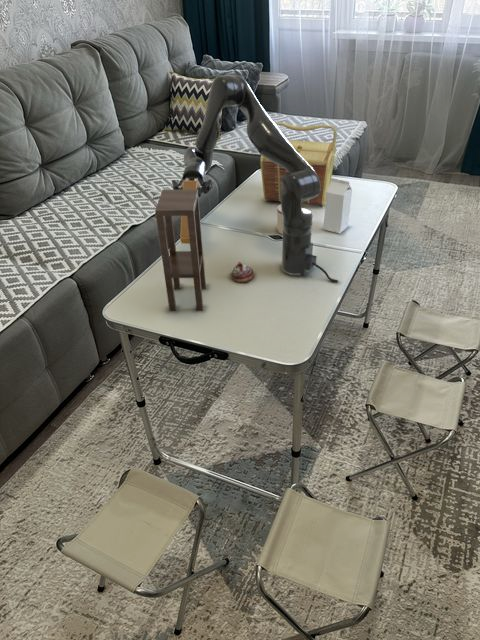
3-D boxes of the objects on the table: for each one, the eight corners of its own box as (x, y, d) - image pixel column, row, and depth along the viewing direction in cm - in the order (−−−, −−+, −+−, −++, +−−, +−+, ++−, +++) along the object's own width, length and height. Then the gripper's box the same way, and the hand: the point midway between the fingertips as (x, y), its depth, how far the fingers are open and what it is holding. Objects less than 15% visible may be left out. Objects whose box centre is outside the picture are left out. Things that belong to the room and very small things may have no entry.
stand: (175, 286, 164) (162, 189, 144) (206, 285, 164) (197, 189, 144) (169, 310, 153) (155, 210, 133) (202, 310, 153) (193, 210, 133)
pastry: (227, 273, 170) (227, 260, 167) (248, 268, 172) (248, 255, 169) (236, 285, 164) (236, 271, 161) (258, 280, 167) (258, 266, 164)
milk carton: (340, 234, 192) (345, 184, 180) (323, 229, 195) (327, 181, 183) (347, 226, 197) (353, 178, 185) (331, 222, 200) (335, 174, 188)
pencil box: (184, 186, 169) (183, 180, 166) (197, 186, 169) (196, 180, 166) (181, 243, 162) (180, 238, 159) (195, 243, 162) (194, 238, 159)
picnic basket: (335, 188, 226) (341, 116, 207) (327, 212, 207) (333, 135, 188) (271, 182, 231) (271, 112, 212) (257, 206, 212) (257, 130, 193)
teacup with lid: (294, 238, 190) (295, 208, 182) (272, 232, 193) (272, 203, 186) (307, 225, 198) (309, 196, 190) (286, 220, 201) (287, 192, 194)
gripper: (172, 165, 175) (165, 184, 162) (213, 165, 175) (210, 184, 162) (174, 186, 180) (168, 206, 167) (215, 186, 180) (212, 206, 167)
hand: (189, 195), depth 165 cm, fingers closed on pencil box, 4 cm apart
